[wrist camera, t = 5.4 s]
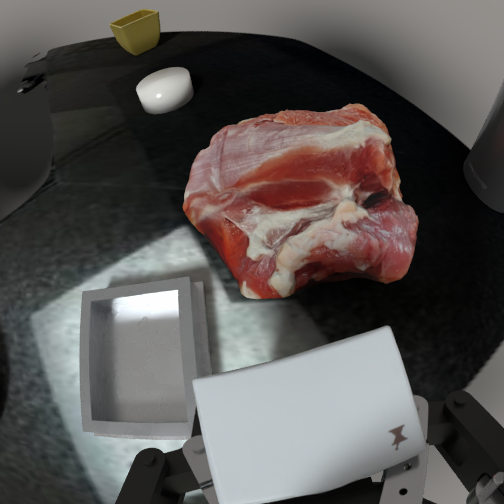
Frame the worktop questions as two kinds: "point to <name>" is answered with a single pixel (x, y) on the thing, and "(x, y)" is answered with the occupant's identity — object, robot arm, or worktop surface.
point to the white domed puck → (165, 90)
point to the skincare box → (308, 420)
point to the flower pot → (138, 31)
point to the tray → (143, 358)
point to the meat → (303, 201)
